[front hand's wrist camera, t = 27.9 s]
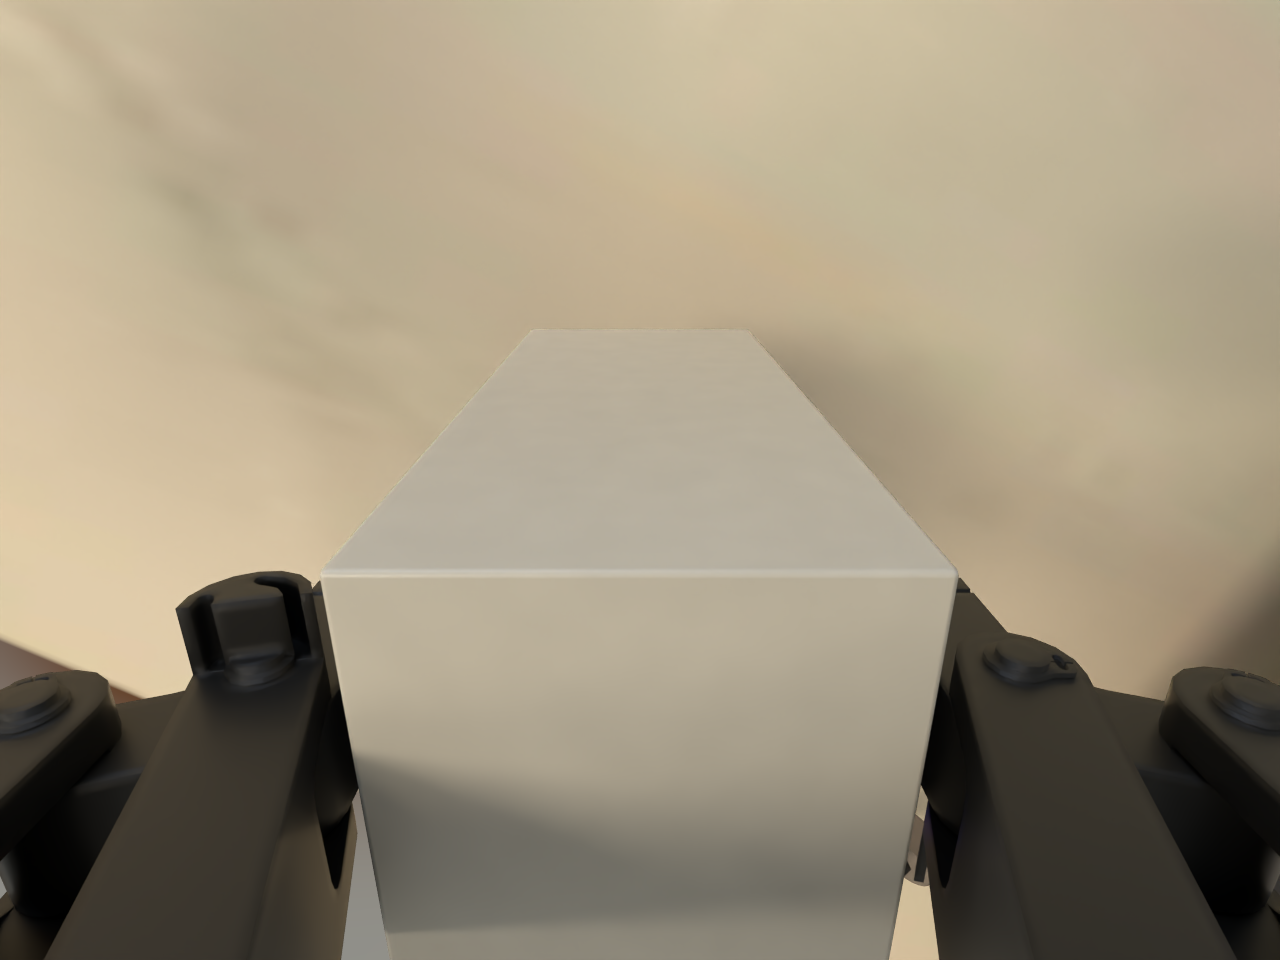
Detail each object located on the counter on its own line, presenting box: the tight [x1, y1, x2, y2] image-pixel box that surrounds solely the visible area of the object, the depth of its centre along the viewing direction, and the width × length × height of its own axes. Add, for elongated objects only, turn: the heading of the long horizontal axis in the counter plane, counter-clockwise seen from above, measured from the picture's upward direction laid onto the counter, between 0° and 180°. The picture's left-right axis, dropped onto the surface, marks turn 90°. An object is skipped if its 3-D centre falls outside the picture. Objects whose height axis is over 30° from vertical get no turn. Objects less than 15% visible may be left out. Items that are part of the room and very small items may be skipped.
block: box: [320, 329, 958, 960], centre depth 12 cm, size 6×5×12 cm
